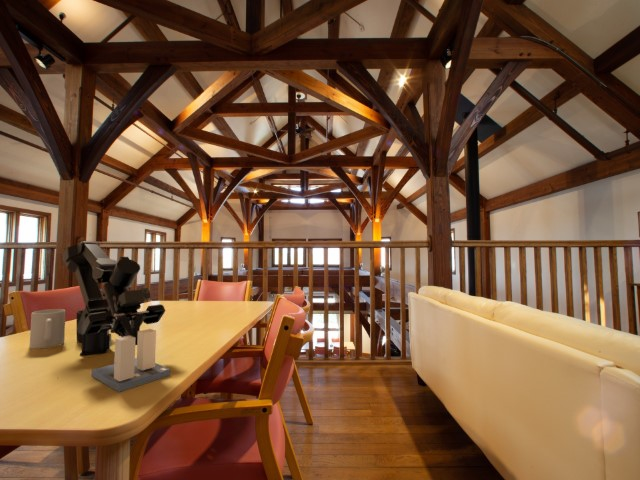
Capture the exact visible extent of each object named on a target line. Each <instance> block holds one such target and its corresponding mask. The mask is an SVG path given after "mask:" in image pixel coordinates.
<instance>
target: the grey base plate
mask: <svg viewBox="0 0 640 480" xmlns="http://www.w3.org/2000/svg"><path fill="white" fill-rule="evenodd" d="M169 376H171V369H170V368H169V367H166V366H164V365H161V364H159V363H156V362H155V367H153V368H149V369H146V370H143V371H142V370H140V369H138V368H137V357H135V365H134V377H133V378H129V379H126V380H123V381H118V380H116V379H114V363H113V364H109V365H106V366H101V367H97V368H94V369H91V377H92V378H94V379H96V380H97V381H99V382H100V383H102V384H104V385H106V386H108V387H109V388H111V389H113V390H114V391H116V392H117V393H120V392H123V391H124V392H125V391H127V390H130V389H134V388H135V387H138V386H142V385H145V384H149V383H150V382H154V381H157V380H160V379H163V378H165V377H169Z"/></svg>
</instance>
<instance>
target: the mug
mask: <svg viewBox="0 0 640 480" xmlns="http://www.w3.org/2000/svg"><path fill="white" fill-rule="evenodd" d="M30 315H31V316H30V333H29V349H32V348H33V350H38V349H39V350H40V348H43V349H48V348H49V347H50V348H55V347H58V346H61V345H63V344H64V343H65V339H66V338H65V336H66V335H65V331H66V329H65V328H66V310H65V309H64V308H51V309H42V310H35V311H33V312H31V314H30ZM54 346H55V347H54Z"/></svg>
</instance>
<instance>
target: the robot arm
mask: <svg viewBox="0 0 640 480" xmlns="http://www.w3.org/2000/svg"><path fill="white" fill-rule="evenodd" d="M61 259H62V262H63V263H64V264H65V267H66V268H67V269H68V270H70V271H71V272H73V273H74V275H75V277H76V280H77V283H78V284H77V285H78V287H79V290H80V292H81V296H82V299H83V303H84V306H85V307H84V309H83V310H84V311H83V313H82V315H81V318H80V320H79V322H78V324H77V323H76V334H77V333H79V334H82V343H81V351H80V353H79V356H85V355H86V356H87V355H96V354H105V353H107V352H108V350H109V349H110V348H111V347H112V334H116V335H117V336H120V337H125V336H132V337H135V346H137V340H138V331H141V330H140V329H141V325H143V324H146V325H152V324H157V323H158V322H160V320H161V318H162V317H163V315H164V314H165V312H166V311H167V310H166V308H165V306H164V305H163V304H160V303H159V304H154V305H153V304H152V305H148V306H147V307H146V309H145V310H142V311H138V310H140V309H141V307H142V306H141V304H142V303H145V301H148V300H149V299H151V296H152V295H151V291H150V290H149V288H148V287H142V288H140V289H132V290H131V289H129V286H132V285H133V283H134V282H135V279H136V278H137V276H138V274H139V272H140V270H141V265H140V264H139V263H138V262H137V261H135V260H133V259H130V258H129V256H120V258H119V260H116V259H112V258H110V256H108V255H107V254H106V253H105V251H104V250H103V248H101V247H100V244H99V242H96V241H80V242H78V243H77V244H73V245H71V246H69V247H67V248H66V249H65V250H63V252H62V256H61ZM99 284H104V285H103V286H102V291H101V288H100V285H99ZM104 297H105V298H104Z"/></svg>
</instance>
